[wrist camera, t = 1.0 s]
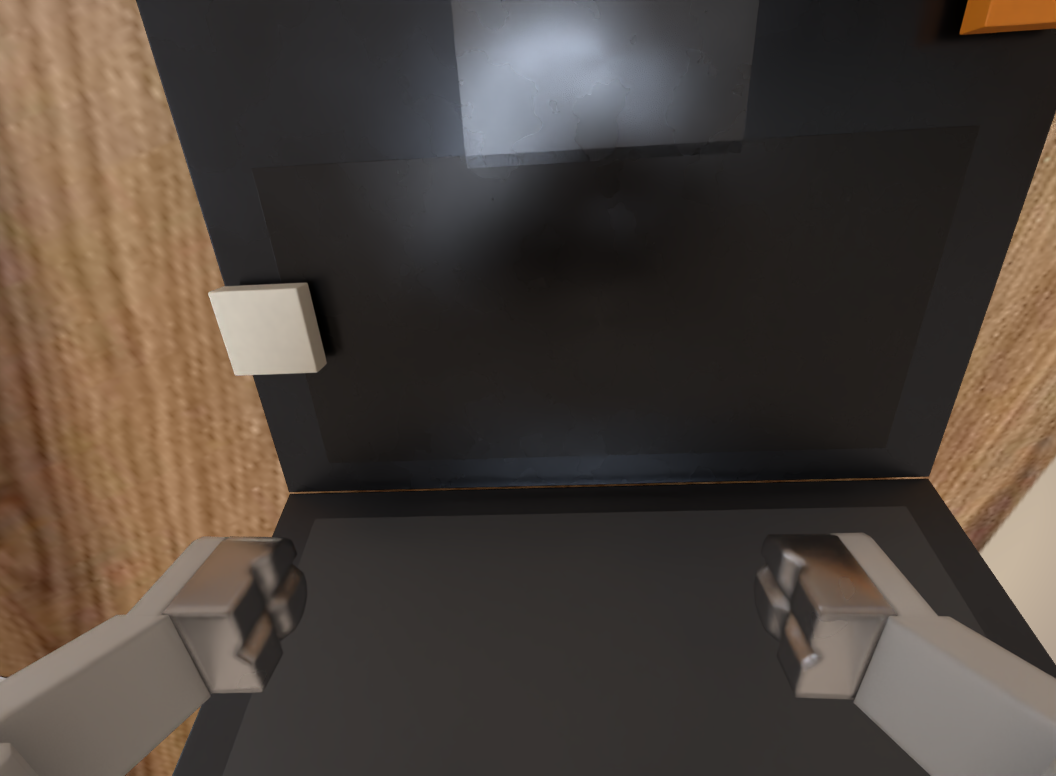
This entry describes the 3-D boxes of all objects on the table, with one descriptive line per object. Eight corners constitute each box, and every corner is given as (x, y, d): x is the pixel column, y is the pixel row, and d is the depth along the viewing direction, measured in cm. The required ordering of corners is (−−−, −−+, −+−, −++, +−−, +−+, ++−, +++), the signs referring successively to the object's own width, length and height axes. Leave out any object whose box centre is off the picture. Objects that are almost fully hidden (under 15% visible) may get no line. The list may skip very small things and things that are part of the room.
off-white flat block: (222, 286, 19) (206, 292, 18) (307, 282, 19) (296, 288, 18) (248, 366, 20) (234, 376, 20) (327, 363, 20) (317, 373, 19)
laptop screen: (-131, 1486, 9) (-84, 1447, 9) (1735, 1645, 7) (1641, 1583, 8) (288, 492, 24) (296, 502, 24) (929, 476, 22) (919, 488, 23)
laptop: (156, -44, 17) (111, -68, 15) (1083, -120, 15) (1153, -156, 13) (305, 471, 25) (287, 493, 24) (903, 455, 24) (930, 478, 22)
